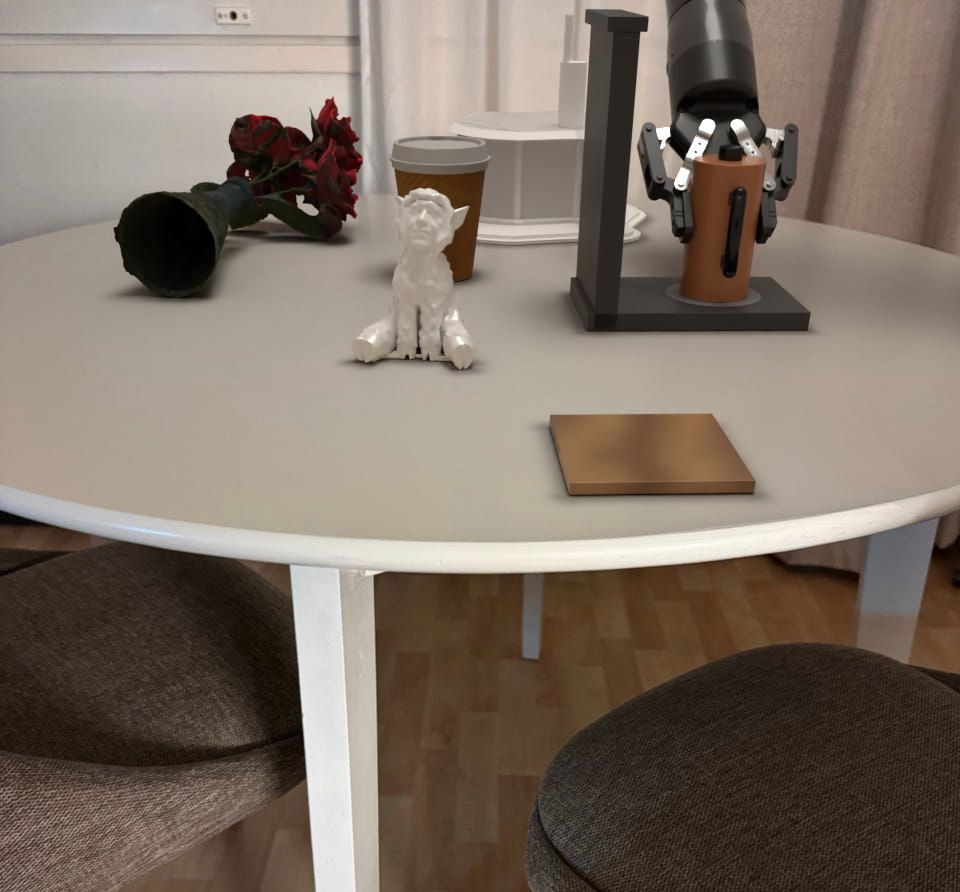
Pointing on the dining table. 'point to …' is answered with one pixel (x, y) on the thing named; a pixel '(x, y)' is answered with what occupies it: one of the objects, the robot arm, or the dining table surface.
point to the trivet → (647, 454)
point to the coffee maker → (604, 210)
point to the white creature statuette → (422, 289)
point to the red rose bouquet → (243, 199)
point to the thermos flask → (722, 225)
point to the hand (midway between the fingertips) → (725, 238)
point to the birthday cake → (537, 166)
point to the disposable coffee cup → (446, 185)
